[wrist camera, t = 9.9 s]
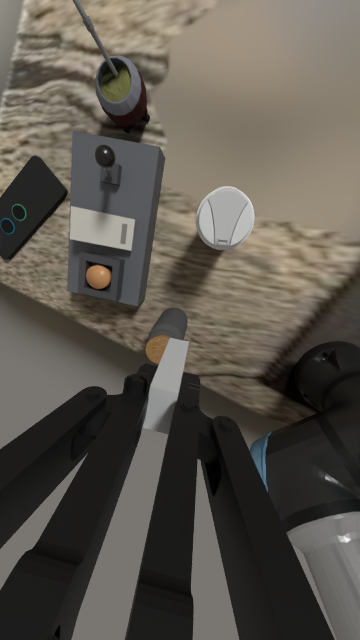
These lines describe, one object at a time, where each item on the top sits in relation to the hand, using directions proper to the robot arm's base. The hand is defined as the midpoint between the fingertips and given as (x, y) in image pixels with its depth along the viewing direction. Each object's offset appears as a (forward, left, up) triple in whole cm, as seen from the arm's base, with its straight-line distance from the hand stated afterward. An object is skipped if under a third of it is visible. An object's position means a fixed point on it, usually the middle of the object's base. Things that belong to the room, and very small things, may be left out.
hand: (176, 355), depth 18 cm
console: (+17, -8, -30) cm, 36 cm away
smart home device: (+37, -8, -31) cm, 49 cm away
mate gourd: (+17, -27, -31) cm, 44 cm away
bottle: (+3, +8, -31) cm, 32 cm away
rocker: (+17, -8, -23) cm, 30 cm away
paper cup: (-2, -12, -31) cm, 33 cm away
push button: (+17, 0, -25) cm, 30 cm away
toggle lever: (+17, -16, -24) cm, 33 cm away
